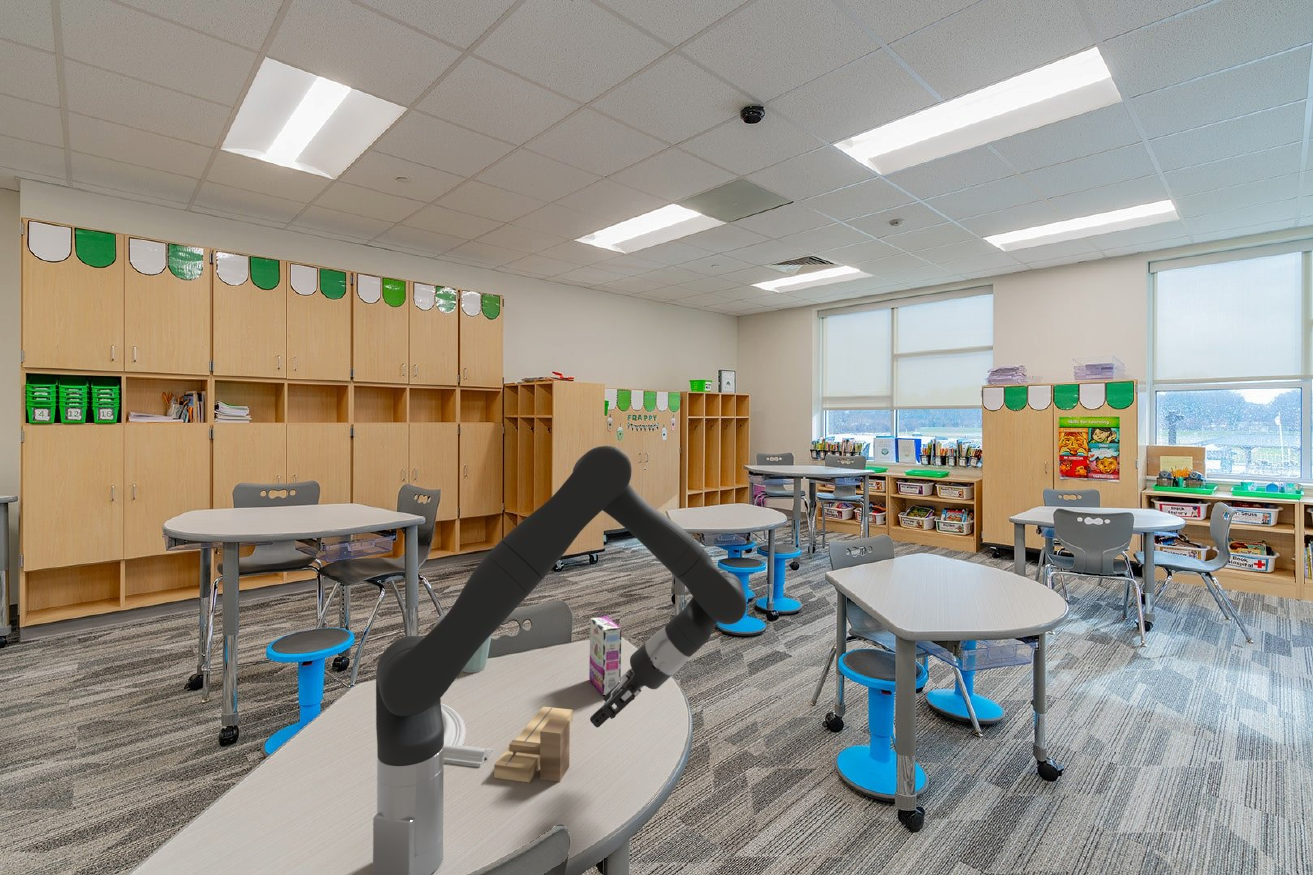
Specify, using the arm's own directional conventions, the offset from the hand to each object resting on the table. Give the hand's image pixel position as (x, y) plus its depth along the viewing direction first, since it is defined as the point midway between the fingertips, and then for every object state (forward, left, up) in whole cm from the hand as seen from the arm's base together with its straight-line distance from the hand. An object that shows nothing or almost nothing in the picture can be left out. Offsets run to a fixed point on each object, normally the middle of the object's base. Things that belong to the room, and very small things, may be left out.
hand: (600, 712), depth 111 cm
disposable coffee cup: (+42, +48, -13) cm, 65 cm away
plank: (+8, +16, -13) cm, 22 cm away
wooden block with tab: (0, +12, -13) cm, 18 cm away
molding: (+14, +39, -13) cm, 43 cm away
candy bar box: (+39, +10, -13) cm, 42 cm away
